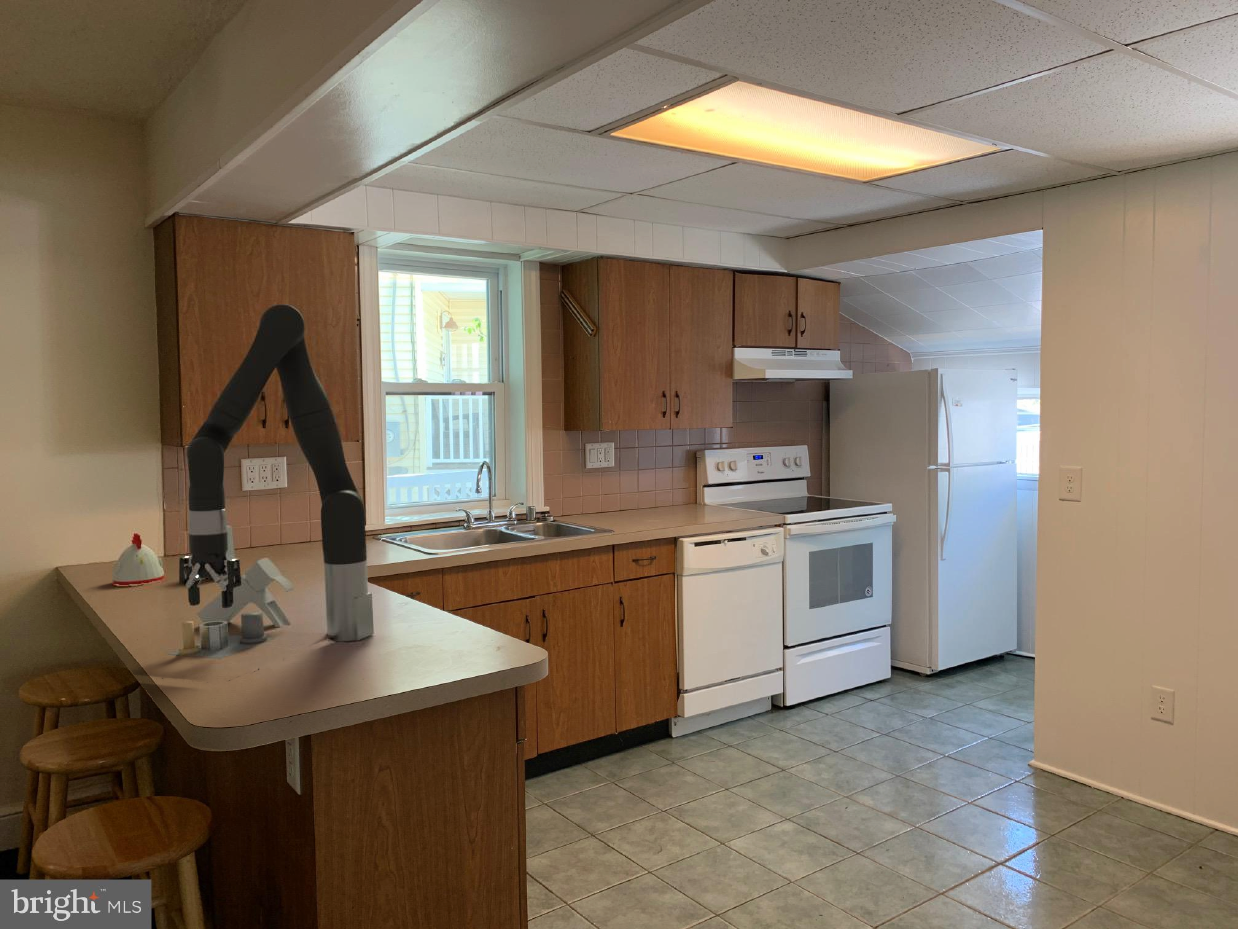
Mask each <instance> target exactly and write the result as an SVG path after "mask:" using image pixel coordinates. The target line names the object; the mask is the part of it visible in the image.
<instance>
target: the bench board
mask: <svg viewBox="0 0 1238 929" xmlns="http://www.w3.org/2000/svg"><path fill="white" fill-rule="evenodd" d="M240 619H241V620H240V623H241V635H234V634H232V635H230V634H228V643H229V646H228V647H225V648H223V649H217V650H201V645H200V642H197V643H196V642H195V639H196V638H195V626H194V624H195V623H194V621H193V620H192V621H191V620H188V621H183V622H181V630H182V632H181V633H182V647H179V648H178V649H177V650H174V651H172V652H168V653H167V655H172V656H185V657H187V656H188V657H196V658H198V657H200V658H210V659H212V658H213V659H225V658H227V657H229V656H232V655H234V654H236V653H239V652H242V651H245V650H247V649H250V648H253V647H256V646H259V645H261V644H263V643H266V642H269V641H272V640H274V639H275V638H272V637H267V636H268V634H267V633H264V632H265V630H264V612H263V611H249V612H244V613H241V614H240Z"/></svg>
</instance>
